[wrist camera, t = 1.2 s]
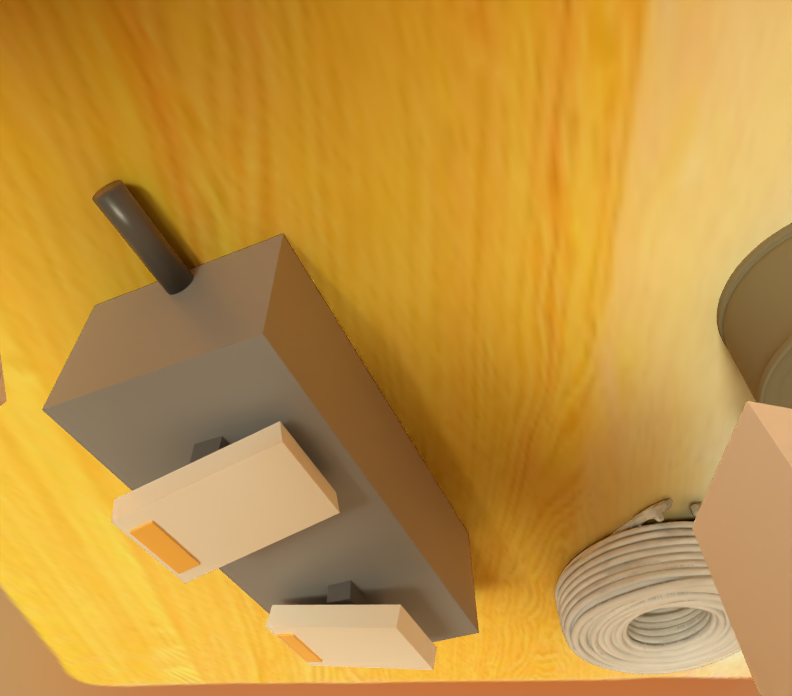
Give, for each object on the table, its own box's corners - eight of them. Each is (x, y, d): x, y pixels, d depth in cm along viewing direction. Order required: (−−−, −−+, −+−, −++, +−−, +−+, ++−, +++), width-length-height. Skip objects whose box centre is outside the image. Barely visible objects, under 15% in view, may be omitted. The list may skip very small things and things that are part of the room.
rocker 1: (114, 499, 33) (111, 524, 32) (280, 421, 32) (282, 444, 31) (186, 560, 37) (185, 585, 36) (336, 492, 36) (340, 515, 35)
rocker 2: (272, 604, 44) (264, 629, 43) (400, 604, 40) (395, 630, 39) (315, 644, 48) (309, 667, 47) (436, 647, 44) (433, 672, 43)
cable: (675, 479, 51) (703, 552, 46) (806, 556, 58) (841, 626, 53) (509, 579, 60) (519, 648, 55) (640, 635, 67) (658, 701, 62)
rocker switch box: (17, 220, 35) (-72, 338, 28) (220, 132, 32) (175, 240, 25) (331, 566, 57) (324, 680, 50) (468, 533, 54) (480, 649, 47)
